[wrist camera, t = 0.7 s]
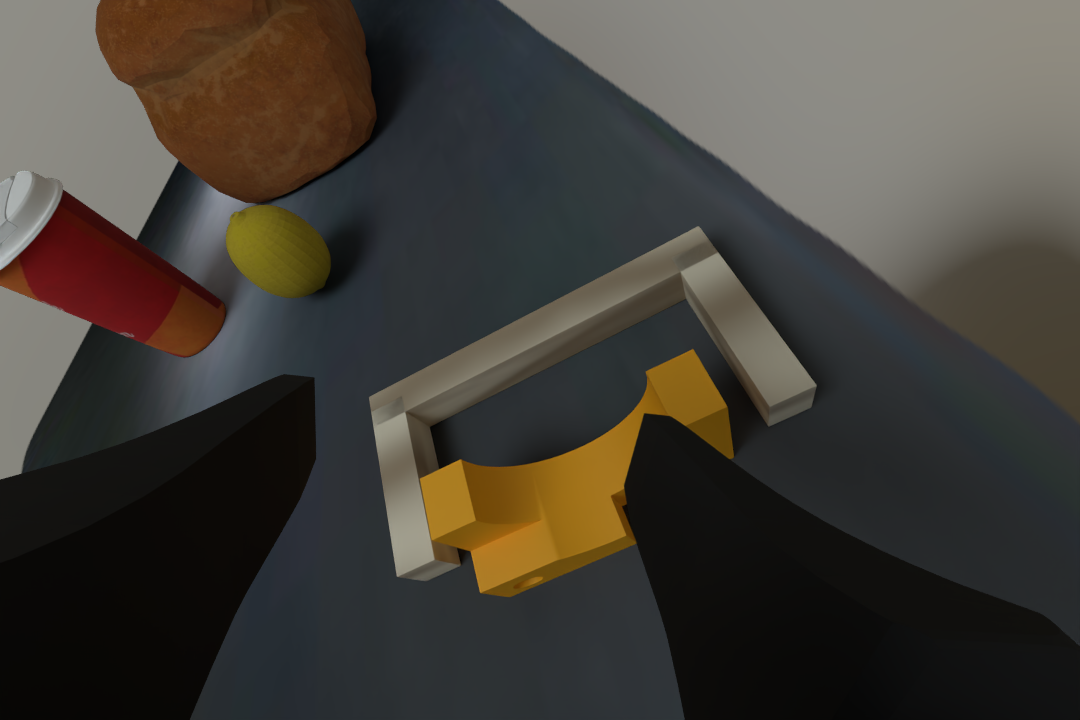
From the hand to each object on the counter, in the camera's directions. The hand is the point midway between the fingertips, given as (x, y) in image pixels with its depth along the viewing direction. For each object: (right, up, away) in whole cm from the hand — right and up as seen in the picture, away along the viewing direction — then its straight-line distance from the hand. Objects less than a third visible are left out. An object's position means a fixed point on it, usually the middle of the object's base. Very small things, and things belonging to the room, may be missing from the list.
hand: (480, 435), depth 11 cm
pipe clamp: (+5, -5, +13) cm, 15 cm away
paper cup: (-27, +4, +31) cm, 41 cm away
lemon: (-15, +7, +28) cm, 32 cm away
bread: (-21, +26, +40) cm, 52 cm away
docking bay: (+3, -1, +15) cm, 16 cm away
